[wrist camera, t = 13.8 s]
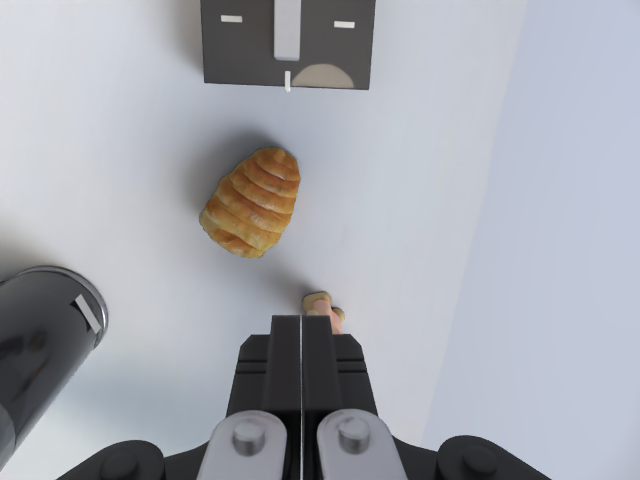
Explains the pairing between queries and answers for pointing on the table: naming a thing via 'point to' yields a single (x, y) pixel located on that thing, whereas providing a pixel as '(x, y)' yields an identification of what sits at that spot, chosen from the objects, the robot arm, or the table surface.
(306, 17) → the panel
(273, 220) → the pastry
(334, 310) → the grandmother figurine
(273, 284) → the table surface
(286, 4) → the grey block red tab
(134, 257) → the table surface
